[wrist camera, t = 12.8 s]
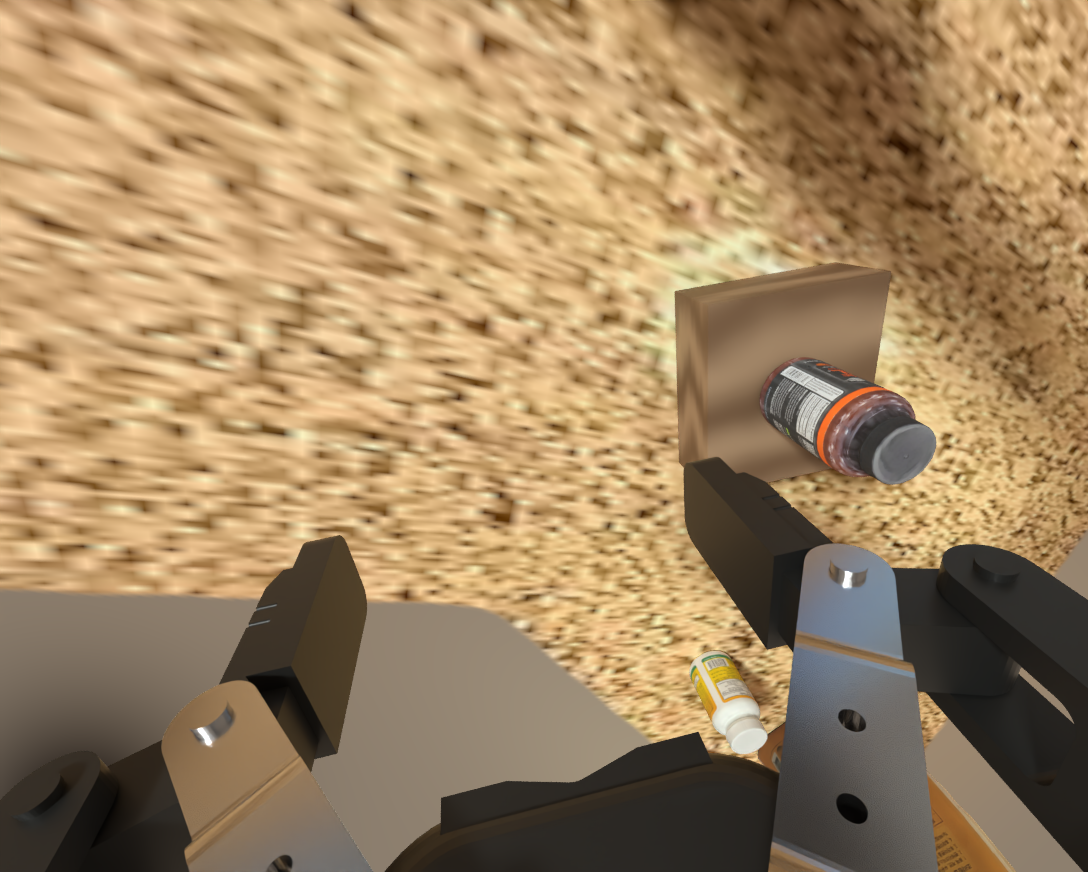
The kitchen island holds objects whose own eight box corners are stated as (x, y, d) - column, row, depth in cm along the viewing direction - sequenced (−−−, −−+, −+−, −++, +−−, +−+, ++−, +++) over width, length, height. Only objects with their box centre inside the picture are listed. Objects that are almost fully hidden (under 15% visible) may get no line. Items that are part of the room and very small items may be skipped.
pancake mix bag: (731, 751, 69) (889, 1063, 44) (844, 666, 65) (1086, 956, 40) (758, 767, 72) (921, 1070, 47) (868, 686, 68) (1109, 970, 43)
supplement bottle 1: (711, 642, 59) (755, 717, 51) (738, 660, 61) (784, 735, 53) (678, 670, 60) (715, 748, 52) (705, 687, 63) (745, 764, 54)
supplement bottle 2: (841, 370, 40) (975, 429, 29) (798, 435, 42) (909, 511, 31) (784, 342, 38) (905, 394, 28) (741, 411, 40) (839, 484, 30)
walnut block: (674, 291, 41) (708, 305, 36) (835, 262, 42) (891, 271, 37) (679, 462, 48) (707, 495, 43) (817, 433, 49) (861, 462, 44)
